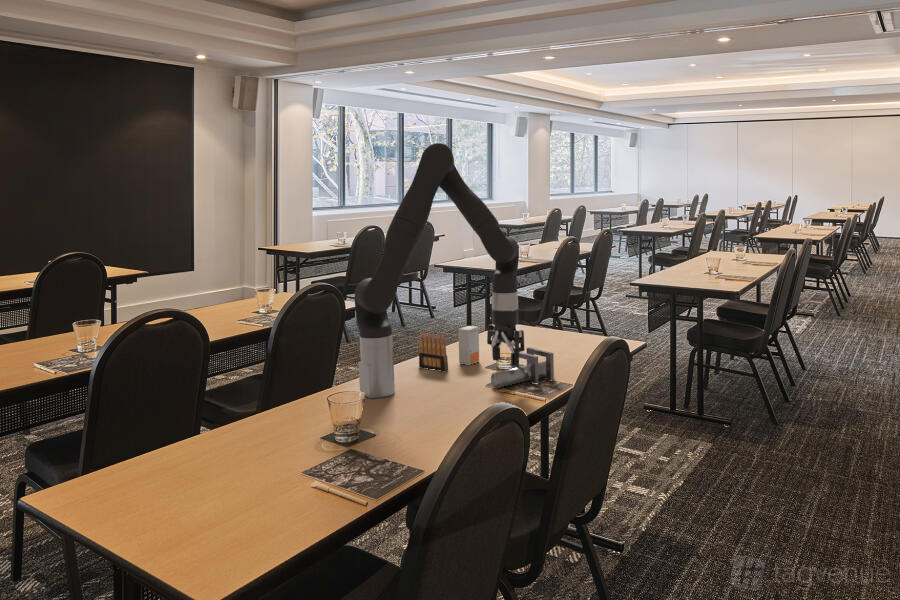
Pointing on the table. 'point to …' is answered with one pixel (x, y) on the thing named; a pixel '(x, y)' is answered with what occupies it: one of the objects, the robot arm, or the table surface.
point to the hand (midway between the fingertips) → (505, 362)
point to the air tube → (516, 375)
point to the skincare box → (468, 345)
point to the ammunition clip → (433, 352)
